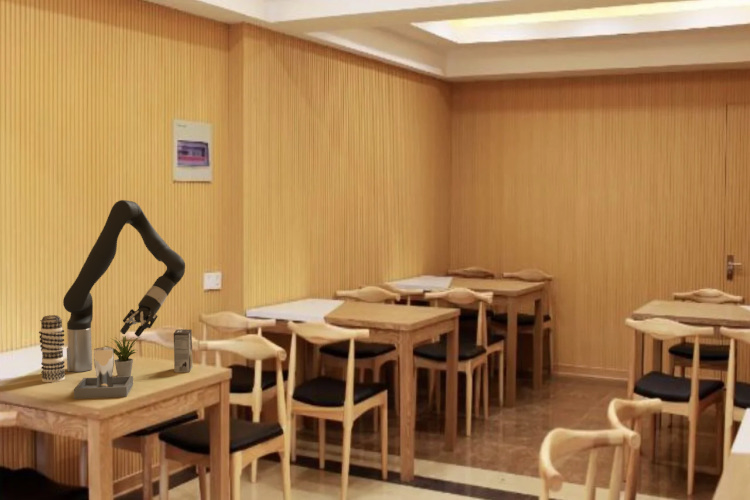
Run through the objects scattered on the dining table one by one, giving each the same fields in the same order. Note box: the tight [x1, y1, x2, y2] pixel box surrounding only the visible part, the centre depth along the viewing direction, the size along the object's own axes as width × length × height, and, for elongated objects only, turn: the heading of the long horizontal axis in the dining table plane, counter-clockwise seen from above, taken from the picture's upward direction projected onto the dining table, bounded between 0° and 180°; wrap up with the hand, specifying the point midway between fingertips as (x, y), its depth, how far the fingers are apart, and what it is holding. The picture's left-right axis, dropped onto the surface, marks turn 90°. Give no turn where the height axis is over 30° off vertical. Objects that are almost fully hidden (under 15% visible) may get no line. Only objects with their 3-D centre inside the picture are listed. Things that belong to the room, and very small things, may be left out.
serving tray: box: [73, 375, 134, 400], centre depth 311 cm, size 18×18×4 cm
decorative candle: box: [38, 314, 66, 383], centre depth 330 cm, size 9×9×25 cm
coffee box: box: [173, 328, 193, 373], centre depth 347 cm, size 9×6×16 cm
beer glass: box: [93, 346, 115, 388], centre depth 310 cm, size 7×7×15 cm
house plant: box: [104, 335, 141, 377], centre depth 338 cm, size 14×14×16 cm
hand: (129, 334), depth 319 cm, fingers open, 8 cm apart
